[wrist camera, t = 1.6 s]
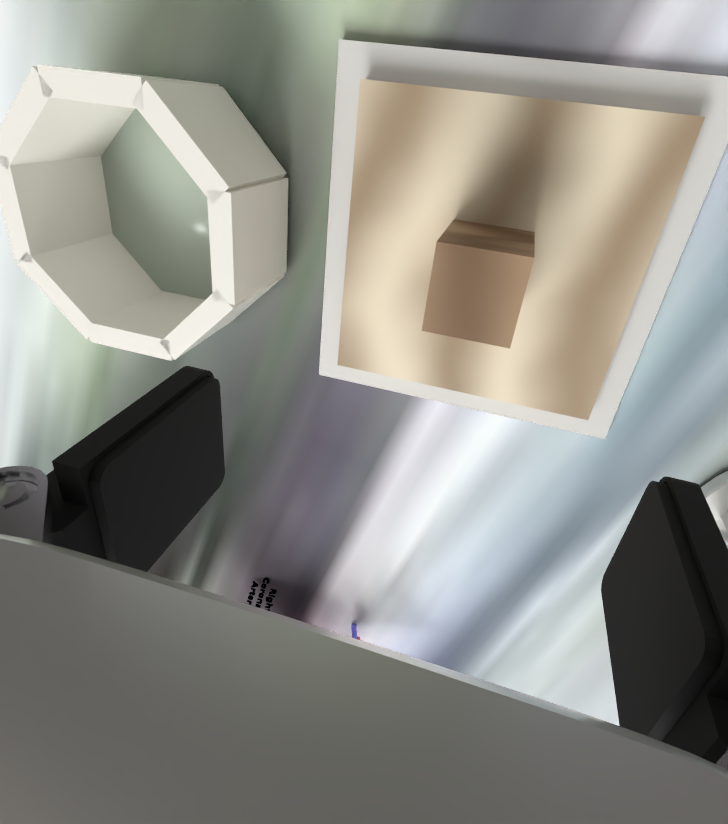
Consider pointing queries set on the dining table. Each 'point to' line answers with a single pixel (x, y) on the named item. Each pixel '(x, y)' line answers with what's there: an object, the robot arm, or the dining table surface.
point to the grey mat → (546, 79)
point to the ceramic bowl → (141, 205)
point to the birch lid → (502, 238)
